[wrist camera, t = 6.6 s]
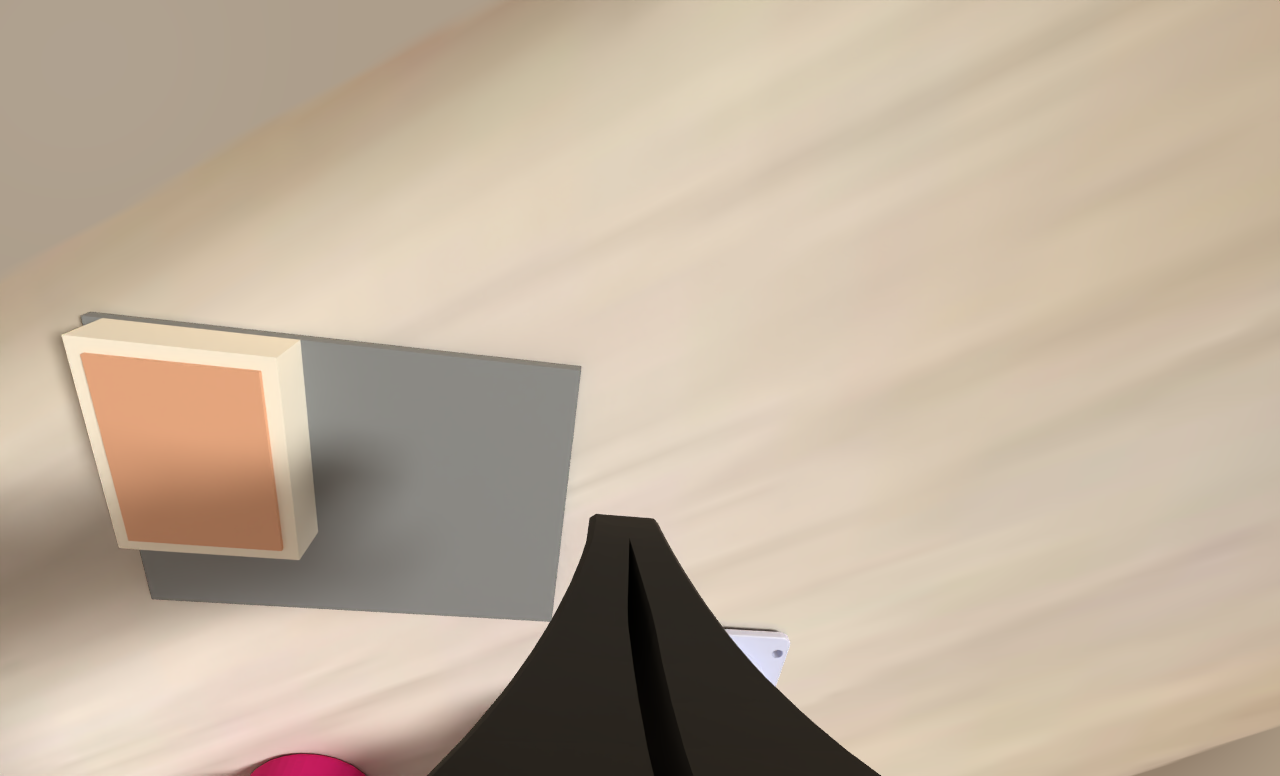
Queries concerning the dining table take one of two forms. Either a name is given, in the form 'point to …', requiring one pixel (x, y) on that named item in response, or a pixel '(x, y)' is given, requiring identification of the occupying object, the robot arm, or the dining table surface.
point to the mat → (411, 487)
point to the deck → (197, 437)
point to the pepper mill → (306, 766)
